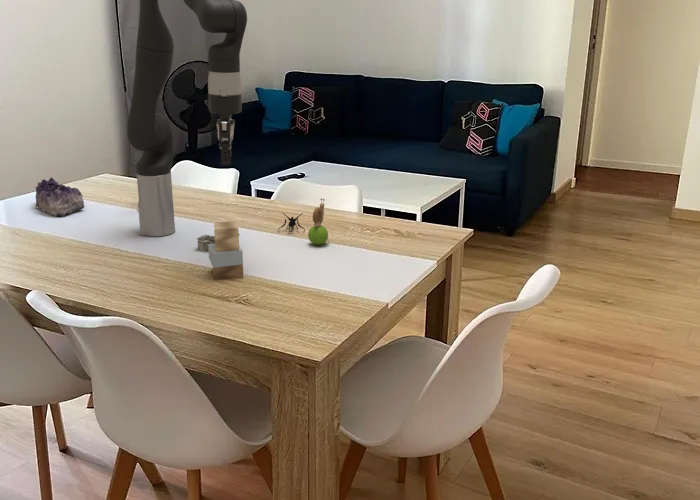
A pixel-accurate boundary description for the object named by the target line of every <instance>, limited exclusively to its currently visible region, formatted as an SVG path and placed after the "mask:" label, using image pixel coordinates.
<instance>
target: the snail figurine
mask: <svg viewBox="0 0 700 500" xmlns="http://www.w3.org/2000/svg"><path fill="white" fill-rule="evenodd" d="M322 201H323V202H322ZM320 202H321V203H320V204H319V207H316V208H314V209H313V212H312V221H313V226H311V227H310V228H309V230H308V233H307V238H308V240H309V242H310V243H311V244H312V245H316V246H321V245H324V244H325V243H326V242H327V241H328V238H329V232H328V229H327V228H326V227H325V226H323V225H321V224H322V223H323V220H324V213H325V203H324V202H325V198H320Z"/></svg>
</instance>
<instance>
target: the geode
mask: <svg viewBox="0 0 700 500" xmlns="http://www.w3.org/2000/svg"><path fill="white" fill-rule="evenodd" d="M83 197H84V196H83V194H82V192H81V191H80V189H78V188H77V187H70V186H66V185H65V184H62V183H61V184H59V182H58V181H56V180H55V179H54V178H53V177H50V178H49V179H48V180H46V179H42V180H41V182H37V185H36V186H35V207H36V208H37V207H38V208H37V209H39V208H40V209H39V210H41V209H42V210H41V211H43V210H44V211H46V212H47V213H46V212H45V213H46V214H48V213H50V214H49V215H51V214H52V215H51V216H54V217H55V216H59V217H65V216H67V215H70V214H72V213H75V212H77V211H81V210H83V209H84V208H85V202H84V198H83ZM44 211H43V212H44Z"/></svg>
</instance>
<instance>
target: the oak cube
mask: <svg viewBox="0 0 700 500" xmlns="http://www.w3.org/2000/svg"><path fill="white" fill-rule="evenodd" d="M238 225H239V224H238V221H220V222H213V227H214V228H213V232H214V233H213V234H214V235H215V251H216V252H219V251H237V250H239V246H240V240H239V239H240V238H239V237H240V236H239V235H240V233H239V226H238ZM238 233H239V234H238Z"/></svg>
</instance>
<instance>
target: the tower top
mask: <svg viewBox="0 0 700 500" xmlns="http://www.w3.org/2000/svg"><path fill="white" fill-rule="evenodd" d="M207 253H208V259H209V262H210V264H211V265H212V269H213V268H214V267H224V266H234V265H243V266H244V259H243V258H244V257H243V249H242V248H241V245H239V250H237V251H219V252H216V251H215V244H208V250H207Z"/></svg>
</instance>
